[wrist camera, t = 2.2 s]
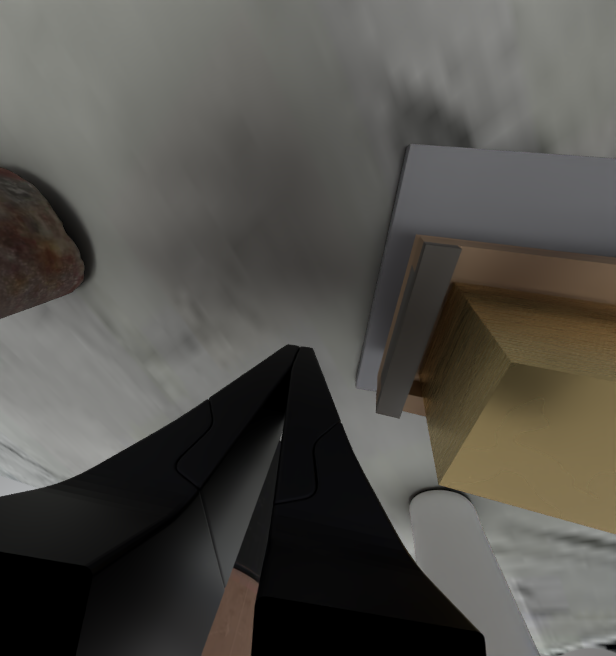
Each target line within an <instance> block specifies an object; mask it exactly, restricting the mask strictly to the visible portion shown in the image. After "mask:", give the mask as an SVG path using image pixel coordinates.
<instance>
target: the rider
mask: <svg viewBox="0 0 616 656" xmlns="http://www.w3.org/2000/svg"><path fill="white" fill-rule="evenodd" d="M418 376H419V381H420V386H421V392H422V397H423V403H424V408H425V413H426V419H427V424H428V430H429V435H430V440H431V446H432V451H433V457H434V462H435V468H436V473H437V478H438V484H439V485H441V486H445V487H448V488H452V489H456V490H459V491H463V492H466V493H470V494H473V495H477V496H481V497H484V498H488V499H491V500H495V501H498V502H502V503H506V504H509V505H513V506H516V507H520V508H524V509H527V510H531V511H534V512H538V513H541V514H545V515H549V516H552V517H556V518H559V519H563V520H567V521H570V522H574V523H577V524H581V525H584V526H588V527H592V528H595V529H599V530H602V531H606V532H609V533H613V534H616V305H612V304H605V303H599V302H592V301H585V300H578V299H571V298H564V297H557V296H550V295H543V294H536V293H530V292H523V291H516V290H509V289H502V288H495V287H488V286H481V285H474V284H468V283H461V282H454V281H453V284H452V287H451V289H450V292H449V295H448V297H447V300H446V303H445V305H444V308H443V311H442V313H441V316H440V319H439V321H438V324H437V327H436V329H435V332H434V335H433V337H432V340H431V342H430V345H429V348H428V350H427V353H426V356H425V358H424V361H423V364H422V366H421V369H420V372H419V374H418Z"/></svg>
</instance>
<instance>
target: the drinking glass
mask: <svg viewBox="0 0 616 656" xmlns="http://www.w3.org/2000/svg"><path fill="white" fill-rule="evenodd" d="M409 513H410V520H411V525H412V531H413V540H414V550H415V560H416V564H417V565H418V566H419V567H420V569H421V570H422V571H423V572H424V574H425V575H426V576H427V577H428V578H429V579H430V580H431V581H432V582H433V583H434V584H435V585H436V586H437V587H438V588H439V590H440V591H441V592H442V593H443V594H444V595H445V596H446V597H447V598H448V599H449V600H450V601H451V602H452V603H453V604H454V605H455V606H456V607H457V608H458V609H459V610H460V611H461V612H462V613H463V614H464V615H465V617H466V618H467V619H468V620H469V621H470V622H471V623H472V624H473V625H474V626H475V627H476V628H477V629H478V630H479V631H480V632H481V633H482V634H483V635H484V638H485V645H486V656H540V654H539V652H538V650H537V647H536V645H535V643H534V641H533V639H532V636H531V634H530V632H529V630H528V628H527V625H526V623H525V621H524V619H523V617H522V615H521V612H520V610H519V608H518V606H517V604H516V601H515V599H514V597H513V595H512V593H511V590H510V588H509V586H508V584H507V581H506V579H505V577H504V575H503V573H502V570H501V568H500V566H499V564H498V562H497V559H496V557H495V555H494V553H493V550H492V548H491V546H490V544H489V541H488V539H487V537H486V535H485V532H484V530H483V527H482V524H481V522H480V519H479V516H478V514H477V511H476V509H475V507H474V505H473V504H472V503H471V502H470V501H469V500H468V499H467V498H466V497H464V496H463V495H461V494H458V493H456V492H452V491H447V490H430V491H426V492H423V493H420V494H418V495H417V496H415V497H414V498H413V499H412V501H411V502H410V506H409Z"/></svg>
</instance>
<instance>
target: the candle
mask: <svg viewBox="0 0 616 656" xmlns="http://www.w3.org/2000/svg"><path fill="white" fill-rule="evenodd" d="M83 280H84V262H83V261H82V260H81V258H80V252H79V249H78V248H77V246H76V245H75V243H74V241H72V240H71V238H70V237H69V236H68V235H67V234H66V232H65V230H64V228H63V223H62V221H61V220H60V219H59V217H58V216H57V215H56V213H55V212H54V210H53V209H52V207H51V205H50V203H49V202H48V201H47V200H46V199H45V197H44V196H43V195H42V194H41V193H40V192H39V191H38V189H37V188H36V187H35V186H34V185H32V184H31V183H30V182H28V181H26V180H24V179H22V178H21V177H20V176H18V175H16V174H15V173H13V172H11V171H9V170H7V169H4V168H1V167H0V319H1V318H4V317H7V316H9V315H12V314H15V313H18V312H20V311H23V310H26V309H29V308H32V307H34V306H37V305H40V304H42V303H45V302H48V301H50V300H53V299H56V298H59V297H61V296H64V295H67V294H69V293H71V292H73V291H74V290H75V289H76V288H77V287H78V286H79V285H80V284H81V283H82V282H83Z"/></svg>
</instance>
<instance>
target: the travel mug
mask: <svg viewBox="0 0 616 656" xmlns="http://www.w3.org/2000/svg"><path fill="white" fill-rule="evenodd" d="M280 448H281V442H280V441H279V442H278V445H277V448H276V450H275V453H274V456H273V459H272V461H271V464H270V467H269V470H268V472H267V475H266V478H265V481H264V483H263V486H262V489H261V492H260V494H259V497H258V500H257V503H256V505H255V508H254V511H253V514H252V516H251V519H250V522H249V525H248V528H247V530H246V533H245V536H244V539H243V541H242V544H241V547H240V550H239V552H238V555H237V558H236V561H235V563H234V566H233V569H232V572H231V574H230V577H229V580H228V583H227V585H226V587H225V588H224V589H225V591H224V594H223V597H222V600H221V602H220V605H219V608H218V611H217V613H216V616H215V619H214V622H213V624H212V627H211V630H210V633H209V635H208V638H207V641H206V644H205V646H204V649H203V652H202V655H201V656H251V646H252V633H253V619H254V605H255V600H256V595H257V590H258V586H259V581H260V576H261V571H262V566H263V561H264V556H265V551H266V546H267V541H268V534H269V528H270V522H271V515H272V509H273V500H274V492H275V485H276V478H277V470H278V463H279V455H280Z"/></svg>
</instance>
